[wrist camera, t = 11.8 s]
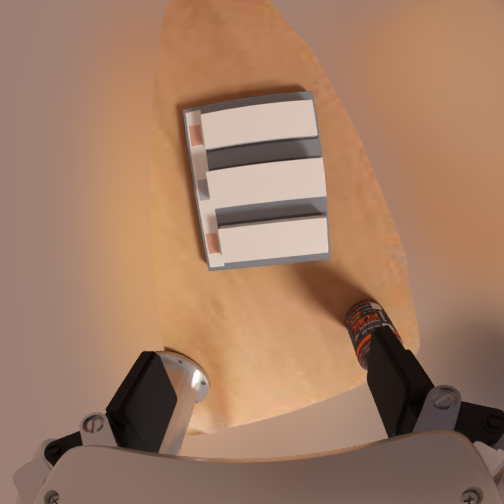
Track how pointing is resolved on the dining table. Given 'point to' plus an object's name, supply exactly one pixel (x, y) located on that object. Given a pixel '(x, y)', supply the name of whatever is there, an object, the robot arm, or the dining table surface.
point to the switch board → (246, 156)
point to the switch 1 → (259, 123)
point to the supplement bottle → (366, 327)
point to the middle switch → (266, 182)
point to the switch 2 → (274, 239)
